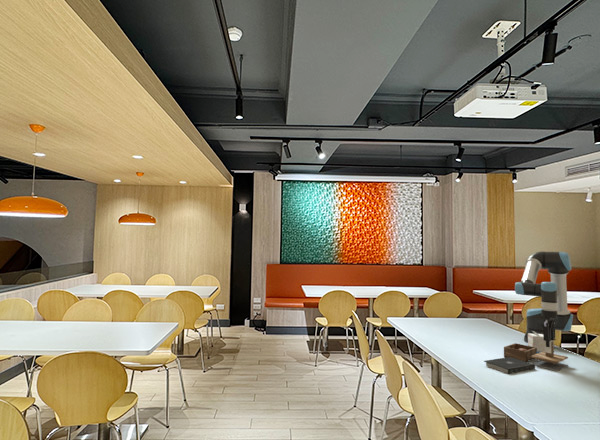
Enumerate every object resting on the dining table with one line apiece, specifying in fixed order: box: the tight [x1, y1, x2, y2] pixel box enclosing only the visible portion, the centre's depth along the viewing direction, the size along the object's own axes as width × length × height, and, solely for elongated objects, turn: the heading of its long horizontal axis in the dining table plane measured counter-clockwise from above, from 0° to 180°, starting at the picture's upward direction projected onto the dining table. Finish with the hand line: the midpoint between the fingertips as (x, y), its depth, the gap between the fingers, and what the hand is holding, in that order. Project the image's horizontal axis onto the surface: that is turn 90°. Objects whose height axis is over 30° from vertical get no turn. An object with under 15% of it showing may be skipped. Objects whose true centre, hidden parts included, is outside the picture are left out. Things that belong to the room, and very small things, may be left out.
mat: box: [531, 360, 569, 372], centre depth 212 cm, size 16×13×1 cm
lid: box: [531, 342, 569, 364], centre depth 213 cm, size 17×13×10 cm
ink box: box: [527, 331, 545, 353], centre depth 235 cm, size 9×8×13 cm
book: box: [483, 357, 536, 375], centre depth 207 cm, size 22×15×3 cm
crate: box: [503, 342, 537, 363], centre depth 226 cm, size 16×12×6 cm
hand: (549, 352), depth 213 cm, fingers closed on lid, 3 cm apart
